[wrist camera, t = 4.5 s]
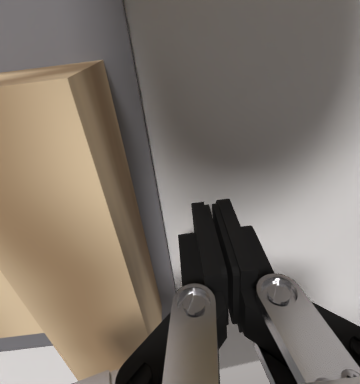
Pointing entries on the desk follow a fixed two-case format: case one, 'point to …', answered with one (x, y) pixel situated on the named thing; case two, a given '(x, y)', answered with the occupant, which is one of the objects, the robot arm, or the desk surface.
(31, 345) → the rubber mat
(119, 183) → the pine T block
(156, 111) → the desk surface
